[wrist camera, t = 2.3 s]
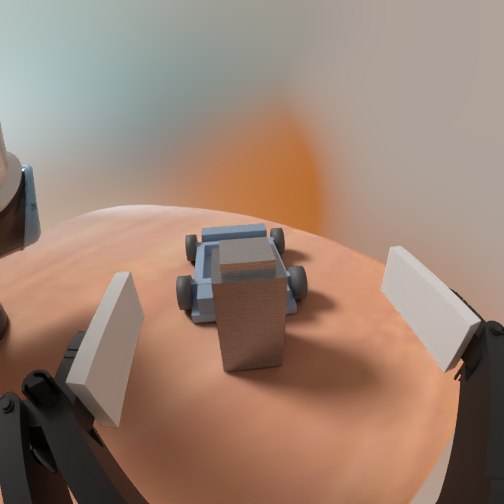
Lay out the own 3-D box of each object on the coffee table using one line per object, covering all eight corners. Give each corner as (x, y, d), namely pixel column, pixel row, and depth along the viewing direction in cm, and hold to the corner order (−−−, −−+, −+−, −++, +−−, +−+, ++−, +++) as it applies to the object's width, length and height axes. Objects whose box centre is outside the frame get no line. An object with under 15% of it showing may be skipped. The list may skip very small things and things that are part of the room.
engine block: (224, 371, 26) (209, 270, 20) (221, 332, 31) (210, 237, 26) (282, 365, 27) (288, 263, 21) (272, 327, 32) (273, 232, 26)
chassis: (180, 323, 33) (173, 295, 31) (190, 250, 50) (187, 228, 48) (308, 311, 34) (311, 283, 32) (277, 243, 52) (277, 221, 50)
